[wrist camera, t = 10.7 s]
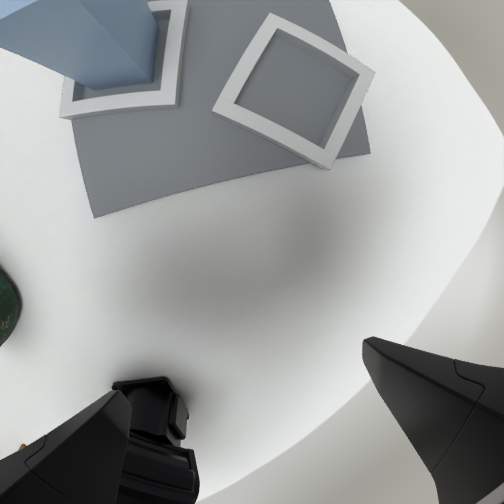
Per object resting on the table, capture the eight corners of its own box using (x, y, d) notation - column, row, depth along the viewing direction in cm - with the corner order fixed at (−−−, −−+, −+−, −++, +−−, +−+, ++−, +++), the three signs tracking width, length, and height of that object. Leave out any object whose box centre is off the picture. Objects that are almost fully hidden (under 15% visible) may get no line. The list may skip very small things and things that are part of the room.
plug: (152, 83, 16) (66, -11, 4) (94, 90, 15) (-28, 37, 3) (160, 21, 14) (111, -96, 2) (104, 30, 14) (18, -56, 2)
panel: (99, 223, 19) (85, 231, 17) (67, 38, 14) (53, 29, 12) (376, 159, 20) (393, 160, 18) (327, -16, 15) (337, -29, 13)
